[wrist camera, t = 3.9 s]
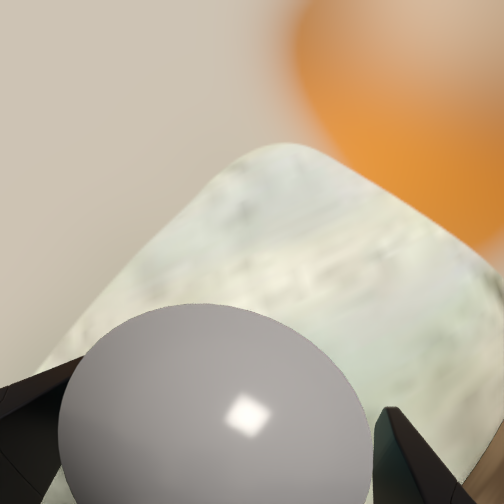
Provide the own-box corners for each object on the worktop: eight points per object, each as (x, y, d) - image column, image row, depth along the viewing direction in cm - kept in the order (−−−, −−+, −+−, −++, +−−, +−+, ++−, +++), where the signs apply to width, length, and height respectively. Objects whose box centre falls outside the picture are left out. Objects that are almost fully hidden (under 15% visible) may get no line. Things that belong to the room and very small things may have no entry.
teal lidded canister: (197, 487, 12) (100, 574, 3) (172, 368, 15) (45, 329, 6) (328, 464, 12) (391, 554, 3) (299, 342, 15) (326, 269, 6)
